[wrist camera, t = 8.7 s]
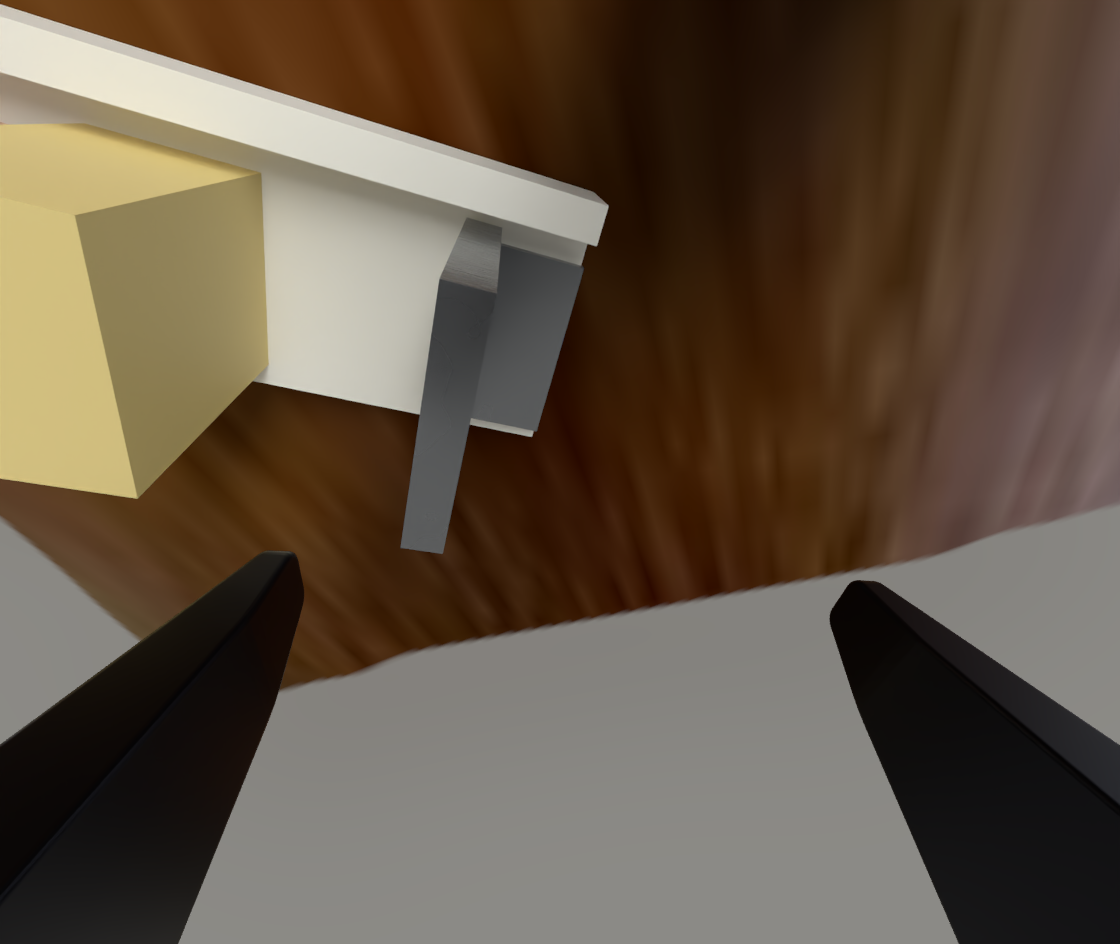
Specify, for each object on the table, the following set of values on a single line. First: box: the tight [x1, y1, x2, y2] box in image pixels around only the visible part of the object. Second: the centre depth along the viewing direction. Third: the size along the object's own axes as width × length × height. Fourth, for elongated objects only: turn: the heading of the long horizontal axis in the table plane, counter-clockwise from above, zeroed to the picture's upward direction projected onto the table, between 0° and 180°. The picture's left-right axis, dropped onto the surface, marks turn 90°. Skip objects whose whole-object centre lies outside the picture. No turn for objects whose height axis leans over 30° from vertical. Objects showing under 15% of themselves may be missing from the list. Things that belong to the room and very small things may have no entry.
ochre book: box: [0, 123, 269, 499], centre depth 12 cm, size 4×6×7 cm
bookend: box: [401, 218, 584, 554], centre depth 14 cm, size 4×6×6 cm, turn 164°
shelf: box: [0, 4, 609, 437], centre depth 13 cm, size 20×8×7 cm, turn 74°
